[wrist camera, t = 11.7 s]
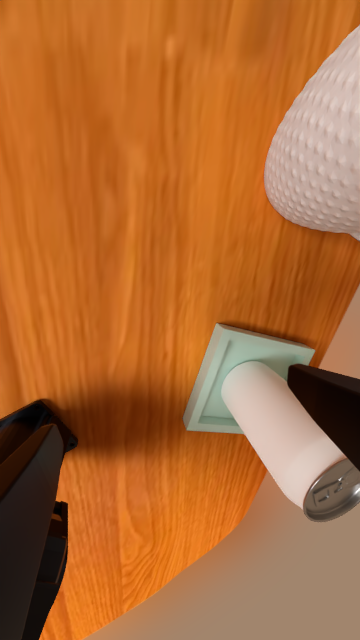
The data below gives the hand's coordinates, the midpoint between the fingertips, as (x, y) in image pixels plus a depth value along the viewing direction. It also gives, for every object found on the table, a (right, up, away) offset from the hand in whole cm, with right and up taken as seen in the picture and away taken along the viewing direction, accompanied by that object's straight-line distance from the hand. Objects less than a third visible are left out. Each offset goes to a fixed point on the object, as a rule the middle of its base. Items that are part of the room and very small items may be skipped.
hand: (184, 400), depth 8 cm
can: (+7, -4, +17) cm, 19 cm away
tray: (+7, -4, +17) cm, 19 cm away
